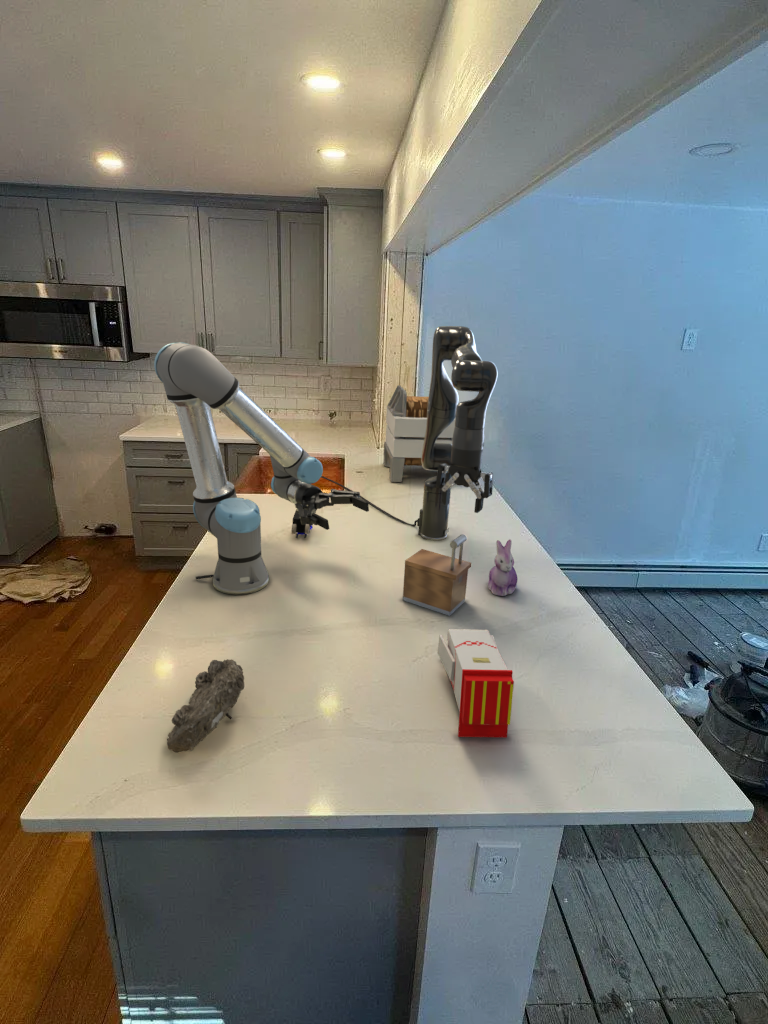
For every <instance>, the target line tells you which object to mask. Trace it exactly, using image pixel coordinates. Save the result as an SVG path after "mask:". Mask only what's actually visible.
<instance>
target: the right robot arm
mask: <svg viewBox="0 0 768 1024" xmlns="http://www.w3.org/2000/svg"><path fill="white" fill-rule="evenodd" d="M432 337H433V338H432V353H431V374H430V375H431V377H430V385H429V392H428V397H429V398H428V407H427V422H426V432H425V438H424V444H423V449H422V457H421V462H422V466H421V467H422V468H423V470H426V471H435V472H436V471H437V473H436V475H435V476H432V477H429V478H427V479H425V480H424V482H423V493H422V496H423V497H422V506H421V508H420V509H419V516H418V518H417V519H416V520H415V521H414V523H413V524H411V523H408V522H407V521H404V520H402V519H400V518H398V517H396V516H394V515H392V514H391V513H389V512H387V511H385V510H384V509H382V508H380V507H379V506H377V505H376V504H374V503H372V502H371V501H369V500H368V499H366V498H365V497H364V496H362V495H360V498H361V499H363V500H364V501H366V502H368V505H371V506H372V507H374V508H375V509H377V510H378V511H380V512H381V513H383V514H385V515H387V516H388V517H390V518H392V519H394V520H395V521H398V522H400V523H402V524H404V525H408V526H411V527H416V526H417V527H418V530H417V535H418V536H420V538H421V539H424V540H426V541H432V542H440V541H444V540H446V539H447V538H448V533H449V532H450V531H449V530H450V527H448V525H449V517H450V516H449V514H450V504H451V494H452V493H451V491H452V487H453V486H454V485H456V486H460V487H461V486H463V487H465V488H470V490H471V491H472V493H474V495H475V497H476V498H475V500H474V501H475V502H474V510H473V511H474V513H475V514H478V513H480V512H481V511H482V510H483V508H484V500H485V499H488V498H489V497H491V496H492V495H493V484H494V473H493V472H491V471H489V472H483V471H482V464H483V463H482V461H483V453H484V446H485V423H486V414H487V408H488V405H489V402H490V399H491V396H492V394H493V392H494V389H495V387H496V383H497V380H498V376H499V375H498V374H499V373H498V372H499V371H498V368H497V366H496V364H495V363H494V362H493V361H489V360H482V358H481V356H480V355H479V353H478V352H477V345H476V341H475V336H474V333H473V331H472V329H471V328H470V327H468V326H462V325H461V326H460V325H459V326H457V325H442V326H438V327H436V328H435V330H434V333H433V336H432ZM445 361H450V363H451V367H452V370H451V375H450V376H451V377H449V375H448V373H447V370H446V369H445V366H444V362H445ZM458 391H460V392H470V393H471V392H472V393H473V392H475V393H478V394H477V395H475V397H474V398H472V399H468V400H463V401H459V400H460V399H459V398H460V396H459V393H458ZM458 402H459V403H458ZM454 419H455V428H454V432H453V440H452V444H447V443H435V441H436V439H437V438H438V436H439V435H440V434H441V433H442V432H443V431H444V430H445V429H446V428H447V427H448V426H449V425H450V424H451V423H452V422H453V420H454ZM321 478H322V479H324V480H327V481H329V482H331V483H333V484H335V485H337V486H339V487H341V488H343V489H345V490H346V491H353V490H352V489H350V488H349V487H347V486H345V485H343V484H341V483H339V482H338V481H337V482H336V481H334V480H333V479H330V478H328V477H326V476H323V475H322V476H321ZM479 479H482V481H483V482H484V483H483V486H482V484H481V481H480V480H479ZM353 492H355V491H353Z"/></svg>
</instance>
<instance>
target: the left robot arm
mask: <svg viewBox="0 0 768 1024" xmlns="http://www.w3.org/2000/svg"><path fill="white" fill-rule="evenodd" d="M153 365H154V366H153V367H154V372H155V374H156V376H157V378H158V379H159V380H160V381H161V383H162V385H163V388H164V392H165V395H166V399H167V401H168V402H169V403H172V404H173V405H174V406H175V410H176V413H177V417H178V421H179V425H180V429H181V433H182V435H183V440H184V443H185V448H186V453H187V456H188V459H189V463H190V466H191V471H192V474H193V478H194V482H195V486H196V487H195V489H194V490H193V492H192V496H193V500H194V501H193V504H192V512H193V515H194V518H195V519H196V521H197V523H198V524H199V525H200V526H201V527H202V528H203V529H205V530H206V531H208V532H209V533H210V534H211V535H213V537H215V538H216V541H217V542H216V543H217V554H218V555H217V557H218V558H217V562H216V565H215V568H214V572H213V574H205V575H198V576H195V580H197V581H198V580H204V579H212V584H213V588H215V590H216V591H218V592H220V593H223V594H227V595H235V596H236V595H238V596H239V595H248V594H253V593H255V592H259V591H260V590H262V589H264V588H265V587H267V586H268V584H269V582H270V580H269V579H270V577H269V571H268V568H267V567H266V563H265V561H264V559H263V556H262V529H261V528H262V526H261V524H262V523H261V522H262V516H261V513H260V507H259V505H258V504H257V503H256V502H254V501H253V500H251V499H249V498H246V499H245V498H243V497H238V496H237V492H236V487H235V485H234V483H233V482H231V481H229V480H228V477H227V474H226V469H225V465H224V459H223V456H222V453H221V447H220V443H219V439H218V436H217V430H216V426H215V421H214V418H213V414H212V409H213V410H219V411H220V412H221V413H223V415H225V417H227V418H228V419H229V420H230V421H231V422H232V423H234V424H235V425H236V426H237V427H238V428H239V429H240V430H242V431H243V432H244V433H245V434H246V435H247V436H248V437H249V438H250V439H252V440H253V441H254V442H255V443H256V444H257V445H258V446H259V447H261V448H262V450H264V451H265V452H266V453H268V455H269V459H270V461H271V466H272V471H273V476H272V478H271V482H270V489H271V491H272V492H273V493H274V494H275V495H276V496H278V497H279V498H281V499H284V500H286V501H288V502H290V503H292V504H293V505H294V506H295V511H296V512H297V513H298V514H299V516H300V520H301V524H302V525H305V524H306V523H307V522H308V523H309V526H312V527H313V526H319V527H320V528H321V529H322V528H323V529H324V530H326V531H328V530H330V525H329V520H328V519H327V518H325V517H323V516H321V515H319V514H318V513H317V511H318V510H321V509H323V508H325V507H334V505H352V506H353V507H355V508H357V509H359V510H361V511H364V512H366V513H368V512H370V507H369V503H368V502H366V501H365V500H363V499H361V498H360V496H361V493H360V491H354V492H353V490H352V491H349V490H339V489H335V488H331V489H330V492H328V493H327V492H323V490H322V489H321V488H320V487H318V486H316V485H314V484H315V483H317V482H318V481H319V480H320V479H321V478H322V477H321V476H323V474H324V473H323V472H324V468H323V464H322V462H321V461H320V460H319V459H318V458H316V457H314V456H312V455H310V454H309V453H308V452H307V451H306V450H305V449H304V448H303V447H302V446H301V445H300V444H299V443H298V442H297V441H295V439H294V438H292V437H291V435H289V433H287V432H286V431H285V430H284V429H283V428H282V427H281V426H280V425H279V424H278V423H277V422H276V421H275V420H274V419H273V418H272V417H271V416H270V415H269V414H268V413H267V412H265V411H264V409H262V408H261V407H260V406H259V405H258V404H257V403H256V402H255V401H254V400H253V399H252V398H251V396H249V395H248V394H247V393H246V392H245V391H244V390H243V389H241V387H240V381H239V380H238V379H237V378H236V377H235V375H233V373H232V372H230V371H229V369H228V368H227V367H225V366H224V365H223V364H222V362H221V361H220V360H219V359H217V357H216V356H215V355H214V354H213V353H211V352H210V351H209V350H207V349H206V348H204V347H202V346H199V345H194V344H190V343H187V342H184V341H183V342H182V341H179V342H170V343H168V344H166V345H163V347H160V349H159V350H158V352H157V353H156V354H155V357H154V363H153ZM304 509H305V510H308V513H307V516H304V511H303V510H304Z"/></svg>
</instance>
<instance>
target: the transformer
mask: <svg viewBox="0 0 768 1024" xmlns="http://www.w3.org/2000/svg"><path fill="white" fill-rule="evenodd" d="M407 394H408V393H407V390H406V389H404V388H403V387H402V385H399V384H398V385H397V386H396V388H395V390H394V392H393V394H392V395H391V398H390V400H389V402H388V404H387V405H386V413H385V414H386V415H385V423H386V428H385V438H384V442H383V466H384V467H388V468H389V475H388V476H389V477H388V478H389V480H390V482H391V483H402V482H403V475H404V469H405V466H406V467H407V466H411V467H412V466H413V467H415V466H416V467H417V466H418V467H422V462H421V457H422V449H423V444H424V438H425V432H426V422H427V407H428V398H429V396H415V395H414V396H413V395H412V396H411V395H407ZM458 403H460V401H458ZM454 428H455V419H454V420H453V422H452V423H451V424H450V425H449V426H448V427H447V428H446V429H445V430H444V431H443V432H442V433H441V434H440V435H439V436H438V438H437V439H436V441H435V443H447V444H452V440H453V432H454Z"/></svg>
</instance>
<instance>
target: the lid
mask: <svg viewBox="0 0 768 1024" xmlns="http://www.w3.org/2000/svg"><path fill="white" fill-rule="evenodd" d="M467 537H468V536H466V534H463V533H461V534H459V535H458V536H457V537H455V538H454V539H452V540H451V541H450V543H449V547H450V549H451V556H449V555H445V554H442V553H438V552H434V551H431V550H427V549H424V548H421V549H419V550H418V551H417V552H414V554H412V555H411V556H410V557H408V558H406V559H405V560H404V566H405V565H408V566H411V567H415V568H418V569H421V570H425V571H428V572H431V573H435V574H438V575H442V576H445V577H448V578H452V579H455V580H456V579H458V578H459V577H460V576H461V575H462V574H463V573H465V572H466V571H467V570H468V571H469V569H470V568H472V562H470V561H467V560H463V553H464V543H465V542H467V540H468V538H467ZM458 547H459V553H458V558H456V549H458Z"/></svg>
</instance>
